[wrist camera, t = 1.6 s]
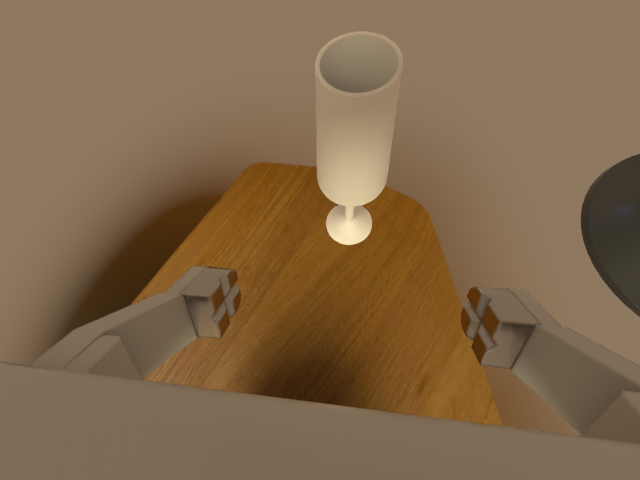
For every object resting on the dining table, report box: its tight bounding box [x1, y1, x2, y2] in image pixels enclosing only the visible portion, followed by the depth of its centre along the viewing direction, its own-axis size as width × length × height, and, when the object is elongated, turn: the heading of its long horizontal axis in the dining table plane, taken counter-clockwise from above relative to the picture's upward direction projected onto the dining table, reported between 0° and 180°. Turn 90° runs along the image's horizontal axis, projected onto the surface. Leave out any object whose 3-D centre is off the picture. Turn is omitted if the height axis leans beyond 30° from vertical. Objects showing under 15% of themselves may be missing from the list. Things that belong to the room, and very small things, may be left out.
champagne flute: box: [315, 31, 403, 245], centre depth 25 cm, size 7×7×24 cm
